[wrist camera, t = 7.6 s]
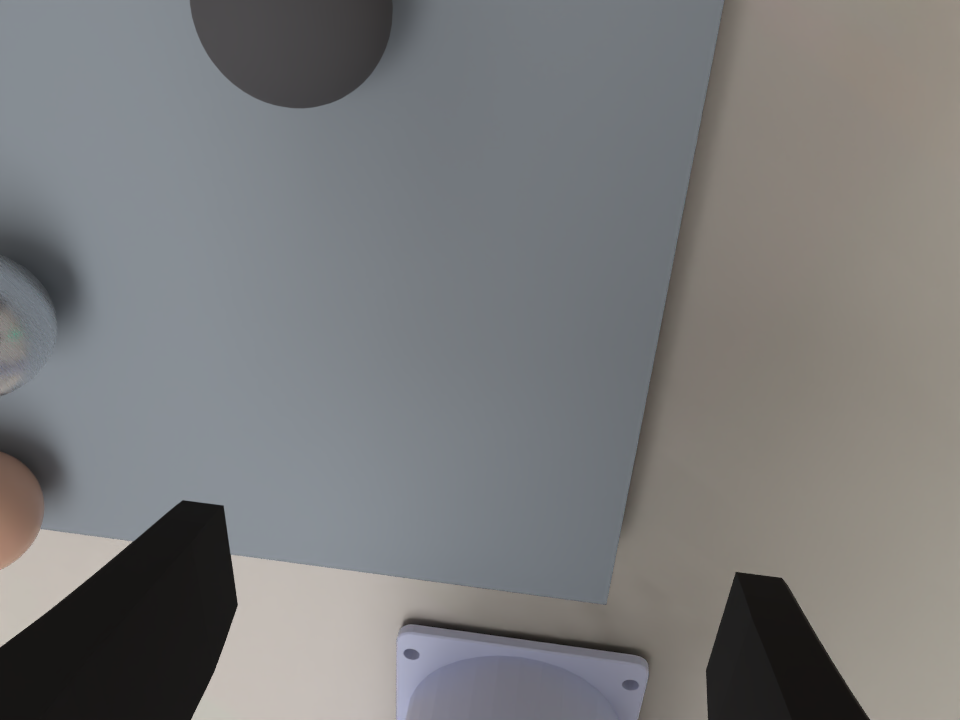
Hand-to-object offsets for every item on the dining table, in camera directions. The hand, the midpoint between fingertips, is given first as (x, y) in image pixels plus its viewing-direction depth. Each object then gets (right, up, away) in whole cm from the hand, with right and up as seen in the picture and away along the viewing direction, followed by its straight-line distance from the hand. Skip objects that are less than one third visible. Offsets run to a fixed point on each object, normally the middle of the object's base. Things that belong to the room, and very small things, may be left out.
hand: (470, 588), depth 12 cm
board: (-7, +6, +9) cm, 13 cm away
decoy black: (-3, +9, +2) cm, 10 cm away
